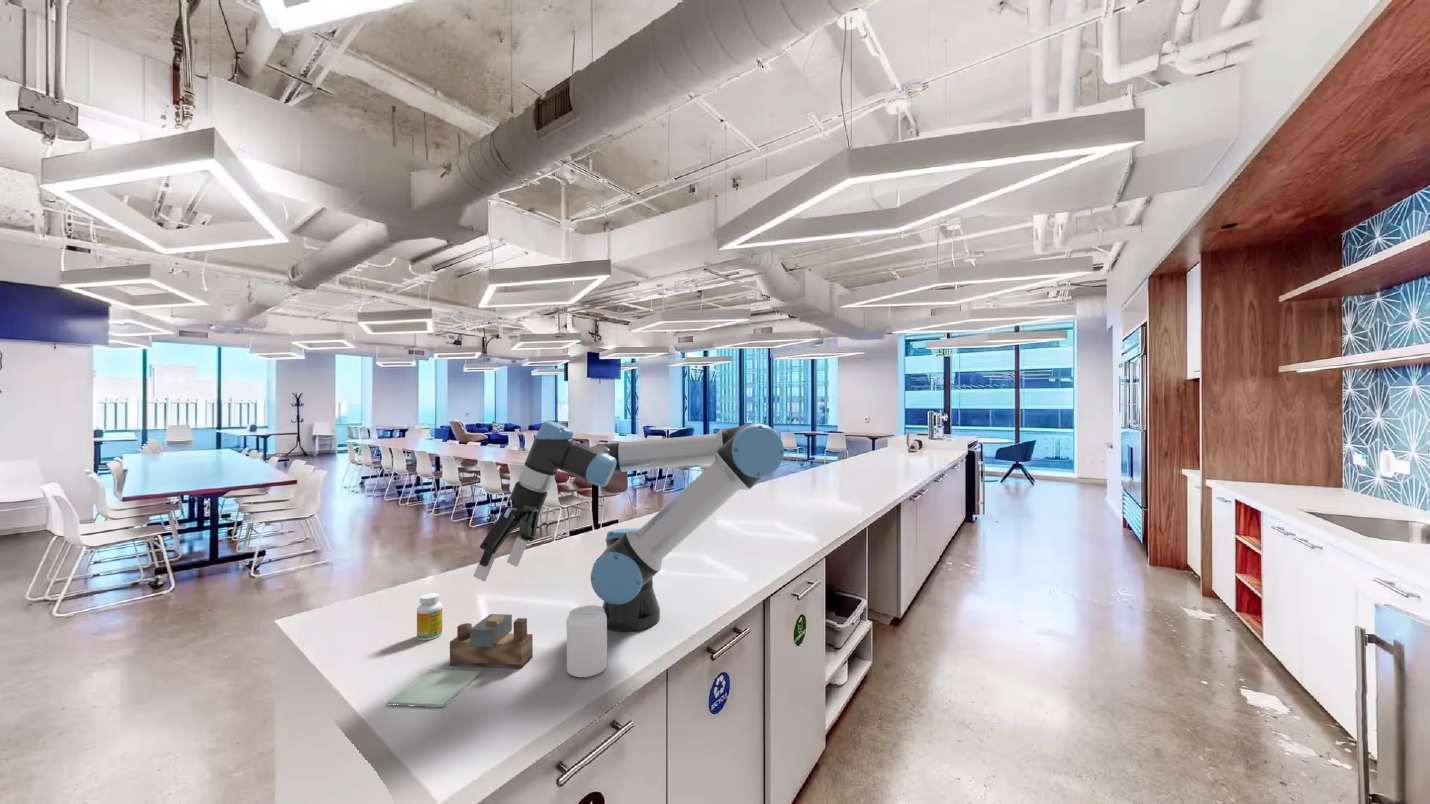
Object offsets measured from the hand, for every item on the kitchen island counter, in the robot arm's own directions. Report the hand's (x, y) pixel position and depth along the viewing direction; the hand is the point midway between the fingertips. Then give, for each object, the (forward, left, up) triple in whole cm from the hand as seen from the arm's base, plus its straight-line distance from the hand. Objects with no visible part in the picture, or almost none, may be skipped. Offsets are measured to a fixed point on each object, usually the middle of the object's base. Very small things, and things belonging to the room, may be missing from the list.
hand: (496, 571), depth 120 cm
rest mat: (+2, +19, -17) cm, 26 cm away
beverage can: (-25, +10, -17) cm, 32 cm away
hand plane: (-3, +8, -17) cm, 19 cm away
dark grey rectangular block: (-3, +8, -12) cm, 14 cm away
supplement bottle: (+19, -3, -17) cm, 26 cm away
